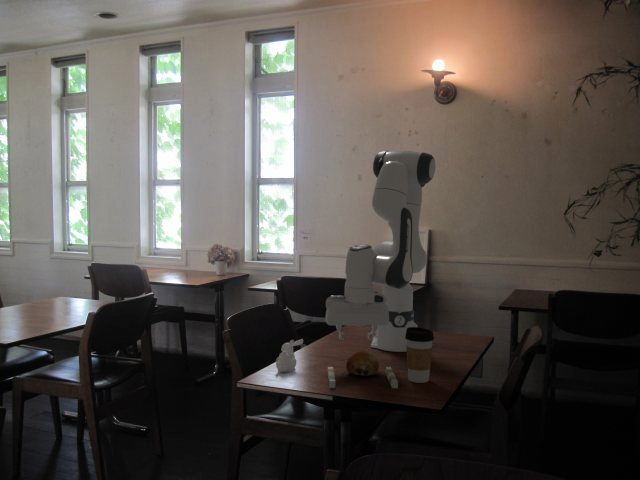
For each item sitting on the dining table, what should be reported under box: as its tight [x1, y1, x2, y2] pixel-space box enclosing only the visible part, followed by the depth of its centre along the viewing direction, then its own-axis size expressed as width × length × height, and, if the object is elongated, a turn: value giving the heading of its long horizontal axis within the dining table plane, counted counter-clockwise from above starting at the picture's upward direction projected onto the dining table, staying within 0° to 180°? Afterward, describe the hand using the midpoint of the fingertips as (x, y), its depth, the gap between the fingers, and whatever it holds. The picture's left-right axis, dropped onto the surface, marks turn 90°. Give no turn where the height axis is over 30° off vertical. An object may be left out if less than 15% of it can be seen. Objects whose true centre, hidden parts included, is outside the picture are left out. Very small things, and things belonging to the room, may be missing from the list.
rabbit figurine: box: [275, 338, 304, 374], centre depth 178 cm, size 12×8×10 cm, turn 168°
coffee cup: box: [405, 326, 435, 384], centre depth 169 cm, size 8×8×15 cm
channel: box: [327, 366, 399, 389], centre depth 168 cm, size 14×19×2 cm
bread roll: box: [345, 350, 380, 377], centre depth 175 cm, size 10×10×8 cm
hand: (356, 338), depth 183 cm, fingers open, 8 cm apart
